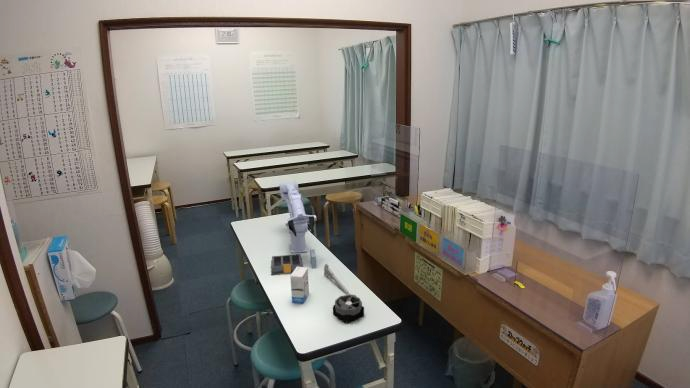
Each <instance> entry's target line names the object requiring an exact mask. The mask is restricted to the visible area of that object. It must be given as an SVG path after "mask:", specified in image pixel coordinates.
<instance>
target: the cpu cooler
mask: <svg viewBox="0 0 690 388" xmlns="http://www.w3.org/2000/svg"><path fill="white" fill-rule="evenodd" d="M332 315H334V316H335V317H336V318H337V319H338V320H340V321H342V322H343V323H344V324H350V323H352V322H354V321H356V320H359V319H361V318H363V317H365V307H364V306H363V302H362V300H361V298H360V297H358V296H357V295H356V294H351V293H349V295H346V294H345V295H340V296H339V297H337V298H336V299H335V301H334V304H333V305H332Z"/></svg>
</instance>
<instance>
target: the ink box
mask: <svg viewBox="0 0 690 388" xmlns="http://www.w3.org/2000/svg"><path fill="white" fill-rule="evenodd" d="M308 268H309V267H304V266H303V267H296V269H295V270H294V271H293V273H291V274H290V275H289V276H290V287H291V288H290V291H291V303H294V304H304V303H305V301H306V299H307V297H308V295H309V293H310V288H309V286H310V285H309V284H310V283H309V269H308Z"/></svg>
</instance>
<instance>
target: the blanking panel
mask: <svg viewBox="0 0 690 388" xmlns="http://www.w3.org/2000/svg"><path fill="white" fill-rule="evenodd" d="M309 254H310V264H311V268H312V269H317V254H316V251H315V249H314V248H313V249H311V248H310V250H309Z"/></svg>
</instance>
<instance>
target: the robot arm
mask: <svg viewBox="0 0 690 388" xmlns="http://www.w3.org/2000/svg"><path fill="white" fill-rule="evenodd" d="M279 192H280V197H281V199H282V200H283V201H285V202H286V206H287V208H288V209H287V210H288V213H289V216H290V217H289V218H287V219H286V220H284V222H285V226H286V227H287V228H286V230H287V233H288V234H289V235H290V245H289V247H290V248H289V249H290V253H291V254H296V253H297V254H299V253H306V252H308V251H307V246H306V245H307V244H306V235H305V234H306V233H308V231H309V229H308V224H309V227H310V231H311V234H313V233H314V227H315V221H317V215H315V214H314V215H313V214H312V215H310V214H306V211H305V205H304V198H303V197H304V196H303V194H302V193H299V183H298V181H293V182H292V181H289V182H280V183H279Z"/></svg>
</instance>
